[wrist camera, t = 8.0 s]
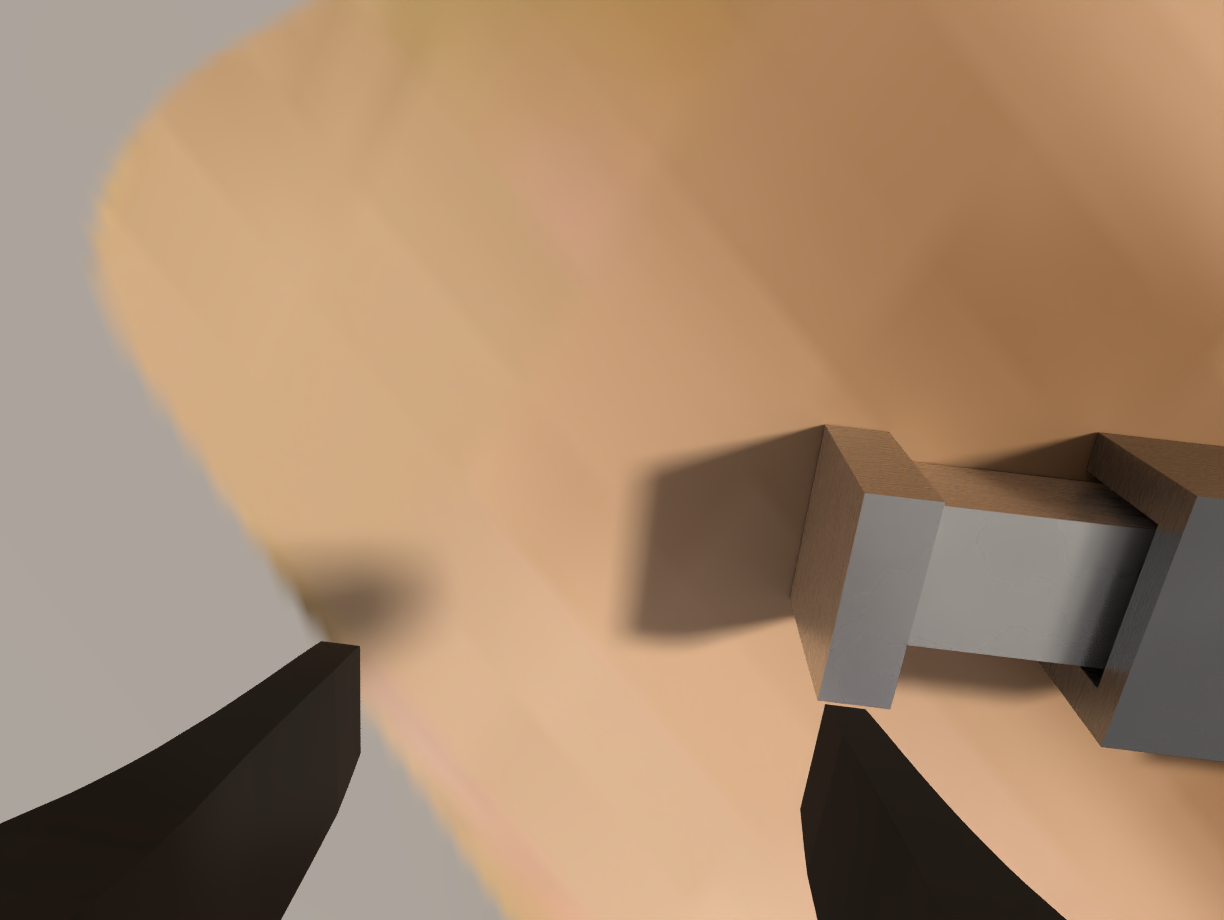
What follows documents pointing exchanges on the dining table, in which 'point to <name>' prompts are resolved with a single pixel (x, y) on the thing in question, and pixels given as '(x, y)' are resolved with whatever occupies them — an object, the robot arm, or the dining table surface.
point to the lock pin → (954, 565)
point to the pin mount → (1162, 607)
